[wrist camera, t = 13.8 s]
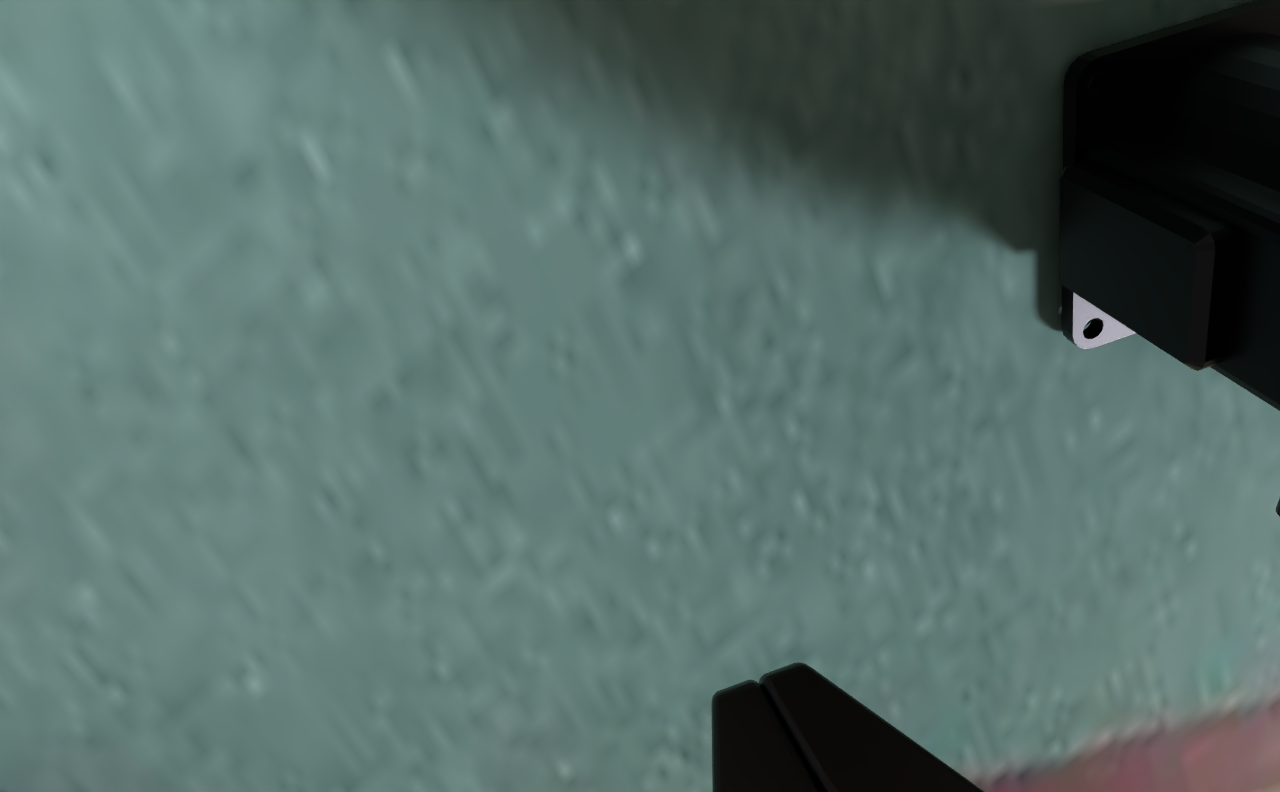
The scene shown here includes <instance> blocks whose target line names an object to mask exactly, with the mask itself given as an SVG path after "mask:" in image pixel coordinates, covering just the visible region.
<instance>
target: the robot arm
mask: <svg viewBox="0 0 1280 792" xmlns="http://www.w3.org/2000/svg"><path fill="white" fill-rule="evenodd" d="M1096 71H1098V79H1097V82H1096V83H1095V85H1094V86H1093V87H1092V88H1091V89H1089V90H1088V87H1087V86H1088V82H1089V79H1090V77H1091V76H1092V75H1093V73H1094V72H1096ZM1059 280H1060V283H1061V284H1062V330H1063V335H1064V336H1065V337H1066V338H1067V339H1068V340H1069V341H1071V342H1072V343H1073V344H1075V345H1076V346H1078V347H1080V348H1083V349H1089V348H1094V347H1097V346H1100V345H1103V344H1106V343H1109V342H1112V341H1115V340H1118V339H1120V338H1123V337H1126V336H1129V335H1132V334H1135V333H1137V334H1139V335H1140V336H1142V337H1143V338H1145V339H1146V340H1148V341H1149V342H1151V343H1152V344H1154V345H1156V346H1157V347H1159V348H1160V349H1162V350H1163V351H1165V352H1166V353H1168V354H1170V355H1171V356H1173V357H1174V358H1176V359H1177V360H1179V361H1180V362H1182V363H1183V364H1185V365H1187V366H1188V367H1190V368H1191V369H1194V370H1197V371H1199V370H1201V369H1204V368H1207V367H1211V368H1213V369H1214V370H1216V371H1217V372H1219V373H1221V374H1222V375H1224V376H1225V377H1227V378H1229V379H1230V380H1232V381H1233V382H1235V383H1236V384H1238V385H1240V386H1241V387H1243V388H1244V389H1246V390H1248V391H1249V392H1251V393H1252V394H1254V395H1255V396H1257V397H1259V398H1260V399H1262V400H1263V401H1265V402H1267V403H1268V404H1270V405H1271V406H1273V407H1274V408H1276V409H1278V410H1279V411H1280V0H1257V1H1254V2H1250V3H1247V4H1244V5H1241V6H1237V7H1234V8H1231V9H1228V10H1224V11H1221V12H1218V13H1214V14H1211V15H1208V16H1205V17H1201V18H1198V19H1195V20H1192V21H1188V22H1185V23H1182V24H1179V25H1175V26H1172V27H1169V28H1165V29H1162V30H1159V31H1156V32H1152V33H1149V34H1146V35H1143V36H1139V37H1136V38H1133V39H1129V40H1126V41H1123V42H1120V43H1116V44H1113V45H1110V46H1107V47H1103V48H1100V49H1097V50H1093V51H1090V52H1087V53H1085V54H1083V55H1081V56H1079V57H1078V58H1077V59H1076V60H1075V61H1074V62H1073V63H1072V64H1071V65H1070V67H1069V69H1068V71H1067V73H1066V75H1065V80H1064V96H1063V172H1062V175H1061V178H1060V236H1059ZM1090 320H1092V321H1091V324H1090V325H1089V326H1088V328H1086V329H1085V330H1083V329H1084V326H1085V325H1086V324H1087V323H1088V321H1090ZM1276 512H1277V514H1278V515H1279V516H1280V499H1279V502H1278V504H1277V507H1276ZM712 774H713V792H984V791H983V790H981V789H980V788H979V787H977V786H976V785H974V784H973V783H972V782H970V781H969V780H967V779H966V778H965V777H963V776H962V775H960V774H959V773H958V772H956V771H955V770H954V769H952V768H951V767H949V766H948V765H947V764H945V763H944V762H942V761H941V760H940V759H938V758H937V757H935V756H934V755H933V754H931V753H930V752H928V751H927V750H926V749H924V748H923V747H921V746H920V745H919V744H917V743H916V742H914V741H913V740H912V739H910V738H909V737H907V736H906V735H905V734H903V733H902V732H901V731H899V730H898V729H896V728H895V727H894V726H892V725H891V724H889V723H888V722H887V721H885V720H884V719H882V718H881V717H880V716H878V715H877V714H875V713H874V712H873V711H871V710H870V709H868V708H867V707H866V706H864V705H863V704H861V703H860V702H859V701H857V700H856V699H854V698H853V697H852V696H850V695H849V694H847V693H846V692H845V691H843V690H842V689H841V688H839V687H838V686H836V685H835V684H834V683H832V682H831V681H829V680H828V679H827V678H825V677H824V676H822V675H821V674H820V673H818V672H817V671H815V670H814V669H813V668H811V667H810V666H808V665H806V664H804V663H799V662H798V663H793V664H790V665H788V666H785V667H782V668H780V669H777V670H774V671H771V672H769V673H766V674H764V675H763V676H762V677H761V678H760V679H759V683H757V682H756V681H754V680H747V681H744V682H742V683H739V684H736V685H733V686H731V687H728V688H725V689H723V690H720V691H718V692H716V693H715V694H714V695H713V698H712Z"/></svg>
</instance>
